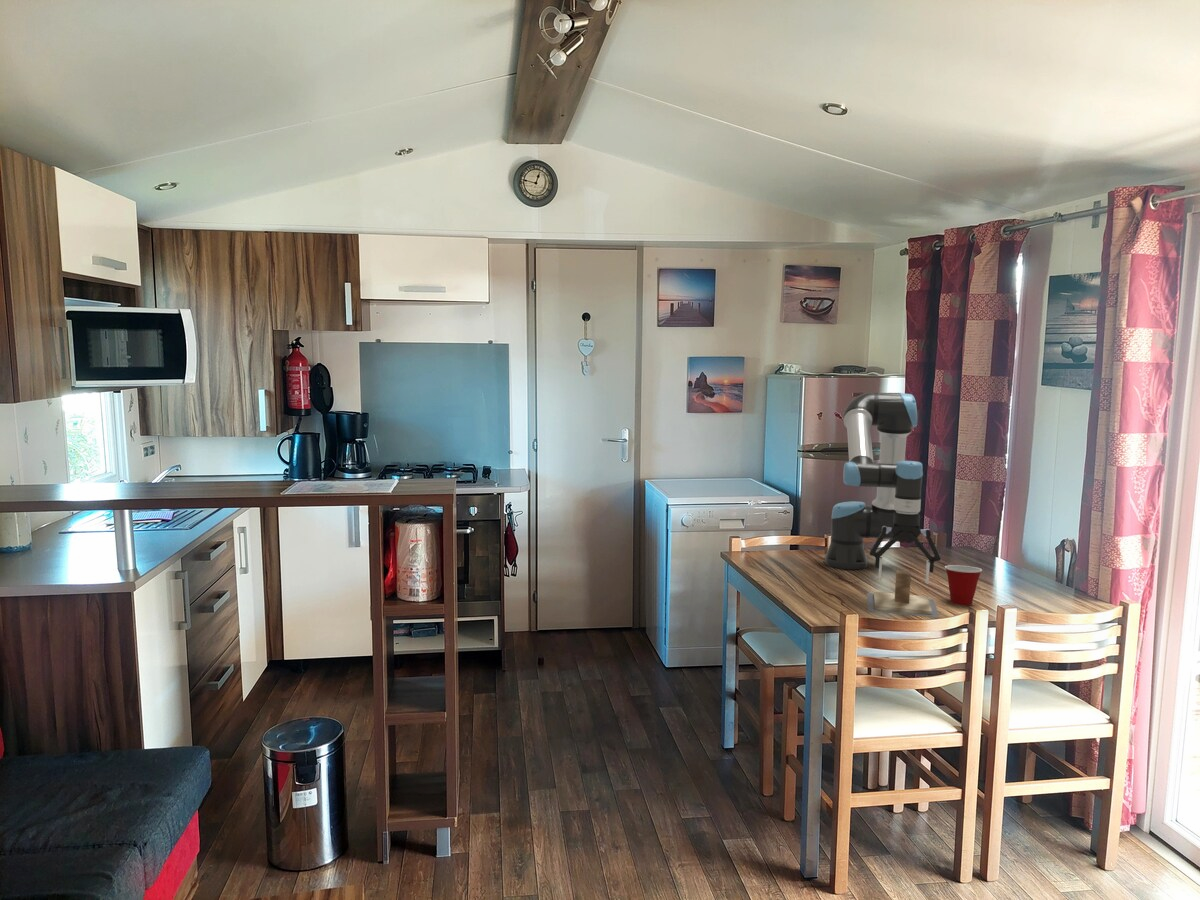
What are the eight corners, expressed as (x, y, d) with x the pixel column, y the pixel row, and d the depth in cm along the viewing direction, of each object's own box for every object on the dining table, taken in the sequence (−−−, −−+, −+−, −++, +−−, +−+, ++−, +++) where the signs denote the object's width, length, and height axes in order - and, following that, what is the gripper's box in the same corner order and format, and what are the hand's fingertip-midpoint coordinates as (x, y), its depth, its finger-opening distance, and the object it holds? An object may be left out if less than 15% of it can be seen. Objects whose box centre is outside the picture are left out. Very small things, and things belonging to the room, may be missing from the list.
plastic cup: (972, 600, 264) (975, 563, 263) (985, 610, 253) (987, 571, 252) (937, 598, 265) (939, 561, 264) (948, 608, 254) (950, 570, 253)
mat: (867, 613, 248) (867, 610, 248) (866, 595, 267) (867, 593, 267) (939, 620, 242) (939, 617, 242) (933, 601, 261) (933, 599, 261)
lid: (874, 609, 249) (876, 576, 248) (873, 595, 265) (875, 564, 263) (931, 615, 245) (933, 581, 244) (927, 600, 260) (929, 568, 259)
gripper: (864, 511, 252) (860, 579, 254) (952, 516, 244) (948, 587, 246) (863, 507, 259) (860, 573, 261) (949, 512, 251) (945, 581, 254)
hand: (903, 580), depth 254 cm, fingers open, 13 cm apart
